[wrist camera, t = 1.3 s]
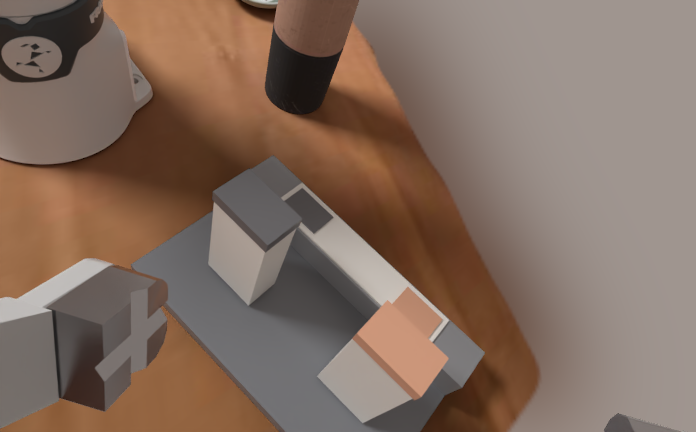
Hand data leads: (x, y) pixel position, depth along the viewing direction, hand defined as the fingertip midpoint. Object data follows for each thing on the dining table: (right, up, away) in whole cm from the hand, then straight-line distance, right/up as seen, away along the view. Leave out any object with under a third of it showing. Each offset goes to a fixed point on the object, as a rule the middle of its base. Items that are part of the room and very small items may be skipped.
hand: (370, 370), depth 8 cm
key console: (-4, -6, +32) cm, 33 cm away
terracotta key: (0, -11, +29) cm, 31 cm away
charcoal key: (-9, -2, +31) cm, 33 cm away
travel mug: (-7, +18, +47) cm, 51 cm away
